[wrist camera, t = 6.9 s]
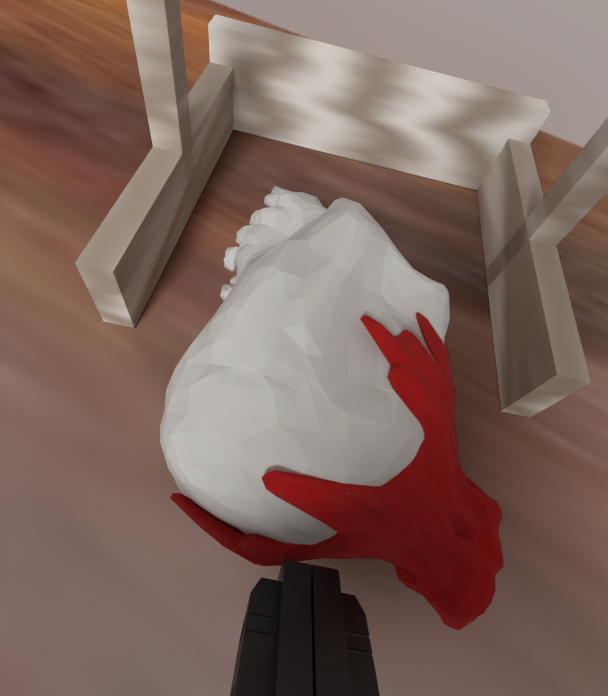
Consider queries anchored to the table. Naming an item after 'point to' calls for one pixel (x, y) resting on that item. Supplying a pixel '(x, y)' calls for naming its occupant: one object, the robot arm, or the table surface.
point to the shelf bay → (363, 145)
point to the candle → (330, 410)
